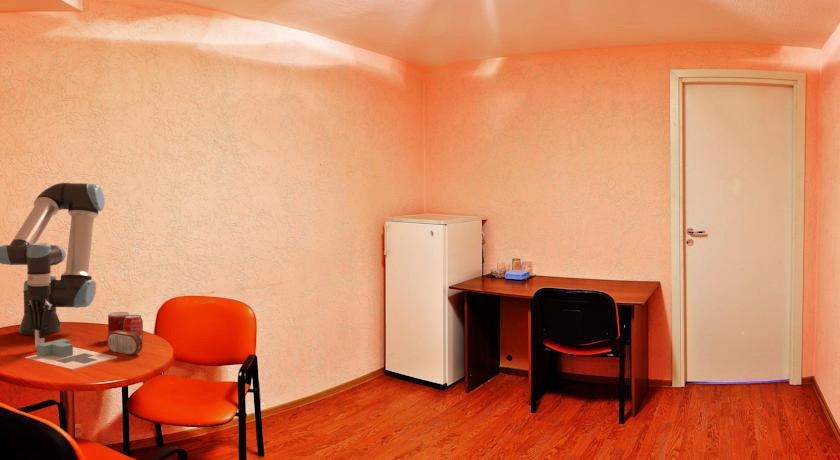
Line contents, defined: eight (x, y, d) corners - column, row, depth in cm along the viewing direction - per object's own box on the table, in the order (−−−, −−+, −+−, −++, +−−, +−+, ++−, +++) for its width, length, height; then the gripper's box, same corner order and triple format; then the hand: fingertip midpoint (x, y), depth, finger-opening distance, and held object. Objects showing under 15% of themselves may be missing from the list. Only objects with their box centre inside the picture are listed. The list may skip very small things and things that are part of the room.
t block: (62, 349, 239) (62, 338, 238) (80, 353, 234) (80, 342, 234) (37, 355, 230) (36, 344, 229) (54, 359, 225) (54, 348, 225)
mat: (70, 347, 243) (70, 346, 243) (117, 358, 232) (117, 356, 232) (24, 358, 227) (24, 357, 227) (71, 370, 215) (71, 369, 215)
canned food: (121, 343, 252) (121, 316, 251) (103, 341, 253) (103, 314, 253) (133, 338, 259) (133, 312, 258) (116, 337, 261) (116, 311, 260)
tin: (143, 355, 237) (143, 333, 236) (136, 357, 234) (136, 335, 233) (112, 350, 242) (112, 328, 241) (105, 352, 239) (105, 330, 238)
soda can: (127, 343, 252) (127, 314, 251) (145, 343, 252) (145, 314, 251) (120, 348, 245) (120, 318, 244) (139, 348, 245) (139, 318, 244)
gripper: (18, 284, 234) (19, 345, 236) (40, 287, 229) (41, 350, 230) (37, 281, 241) (38, 341, 243) (60, 284, 235) (60, 346, 237)
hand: (39, 346), depth 237 cm, fingers closed
